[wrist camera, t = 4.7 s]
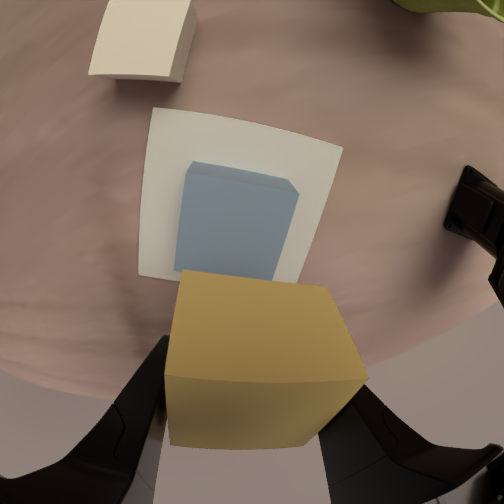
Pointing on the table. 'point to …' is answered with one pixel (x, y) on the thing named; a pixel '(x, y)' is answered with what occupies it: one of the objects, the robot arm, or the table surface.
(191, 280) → the brick ochre
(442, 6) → the plant pot
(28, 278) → the table surface
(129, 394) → the robot arm
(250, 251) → the base brick
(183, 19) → the brick cream
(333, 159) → the build plate
